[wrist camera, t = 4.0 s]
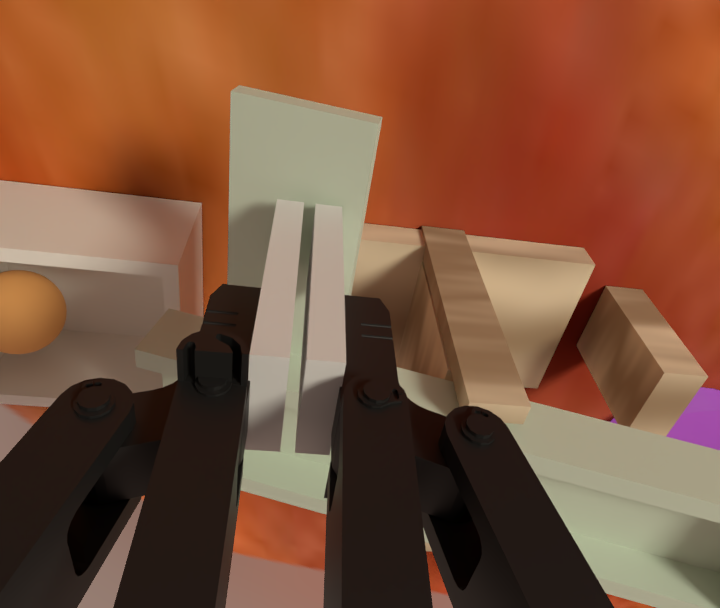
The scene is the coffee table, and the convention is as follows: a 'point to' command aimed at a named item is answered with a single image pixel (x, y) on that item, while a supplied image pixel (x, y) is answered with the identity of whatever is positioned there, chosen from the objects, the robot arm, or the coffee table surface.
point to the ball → (29, 312)
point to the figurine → (699, 420)
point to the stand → (520, 323)
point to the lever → (535, 437)
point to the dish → (97, 281)
